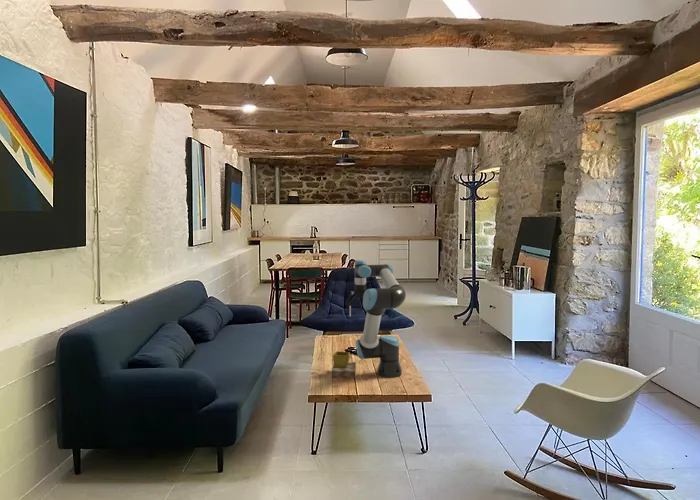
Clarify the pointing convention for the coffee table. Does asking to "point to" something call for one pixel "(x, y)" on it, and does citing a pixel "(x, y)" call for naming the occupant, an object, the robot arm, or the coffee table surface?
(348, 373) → the display stand
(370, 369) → the coffee table surface
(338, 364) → the flower pot
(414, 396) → the coffee table surface
